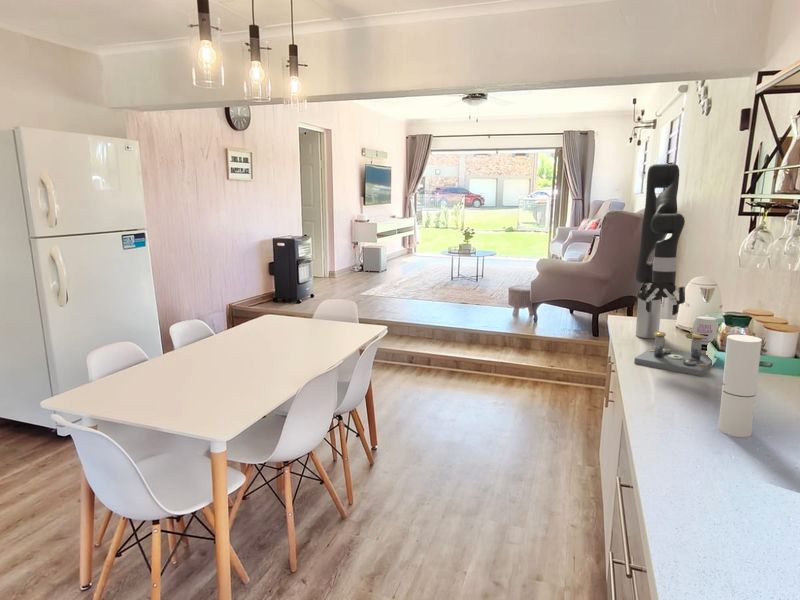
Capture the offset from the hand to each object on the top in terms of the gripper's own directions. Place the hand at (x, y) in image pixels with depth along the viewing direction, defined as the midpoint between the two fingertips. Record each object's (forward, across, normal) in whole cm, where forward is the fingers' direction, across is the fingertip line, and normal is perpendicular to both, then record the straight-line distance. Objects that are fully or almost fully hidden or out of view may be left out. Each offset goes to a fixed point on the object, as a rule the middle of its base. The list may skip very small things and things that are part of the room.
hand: (661, 313), depth 181 cm
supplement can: (+19, -10, -20) cm, 29 cm away
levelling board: (+19, -5, -4) cm, 20 cm away
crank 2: (+17, -11, -2) cm, 20 cm away
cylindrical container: (+20, -34, +46) cm, 61 cm away
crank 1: (+17, 0, -4) cm, 17 cm away
